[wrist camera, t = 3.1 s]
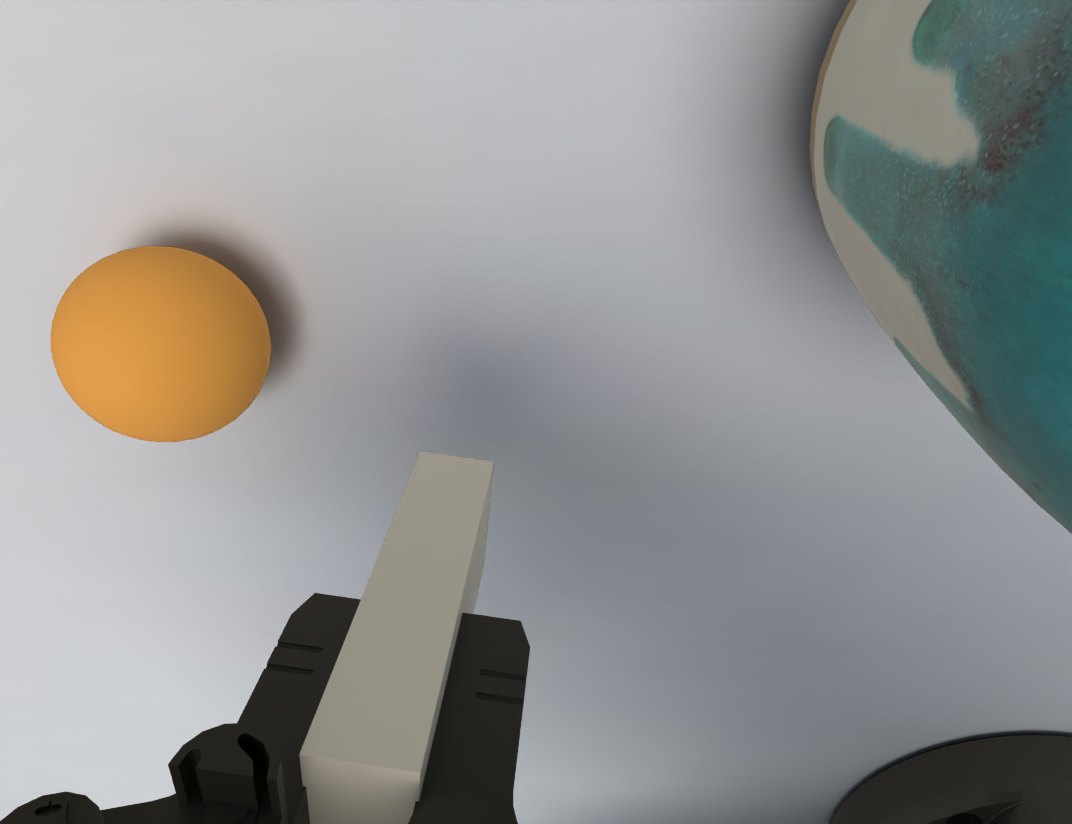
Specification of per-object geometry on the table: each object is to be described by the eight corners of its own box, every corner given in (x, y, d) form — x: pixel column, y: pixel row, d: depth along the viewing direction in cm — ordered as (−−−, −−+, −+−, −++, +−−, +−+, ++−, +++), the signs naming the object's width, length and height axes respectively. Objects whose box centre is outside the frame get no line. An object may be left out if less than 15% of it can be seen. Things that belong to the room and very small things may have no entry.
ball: (304, 395, 24) (228, 494, 19) (144, 372, 24) (30, 465, 19) (293, 235, 21) (201, 305, 16) (112, 210, 21) (-31, 272, 16)
